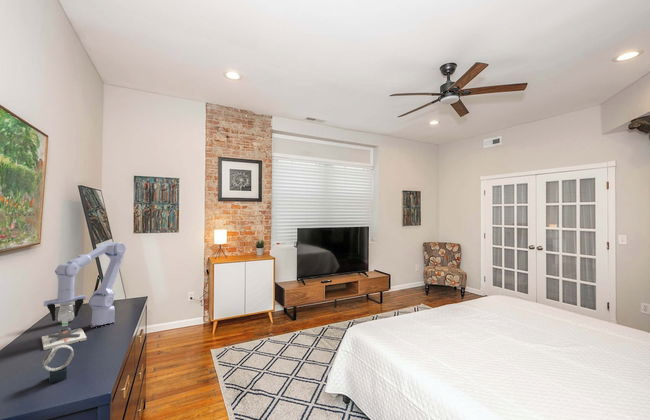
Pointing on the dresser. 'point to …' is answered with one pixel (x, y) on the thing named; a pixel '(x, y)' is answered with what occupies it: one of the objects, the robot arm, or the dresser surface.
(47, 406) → the dresser surface
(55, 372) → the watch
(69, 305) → the silver twisted sculpture
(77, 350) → the dresser surface
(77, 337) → the stand base
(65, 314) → the column
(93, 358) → the dresser surface
